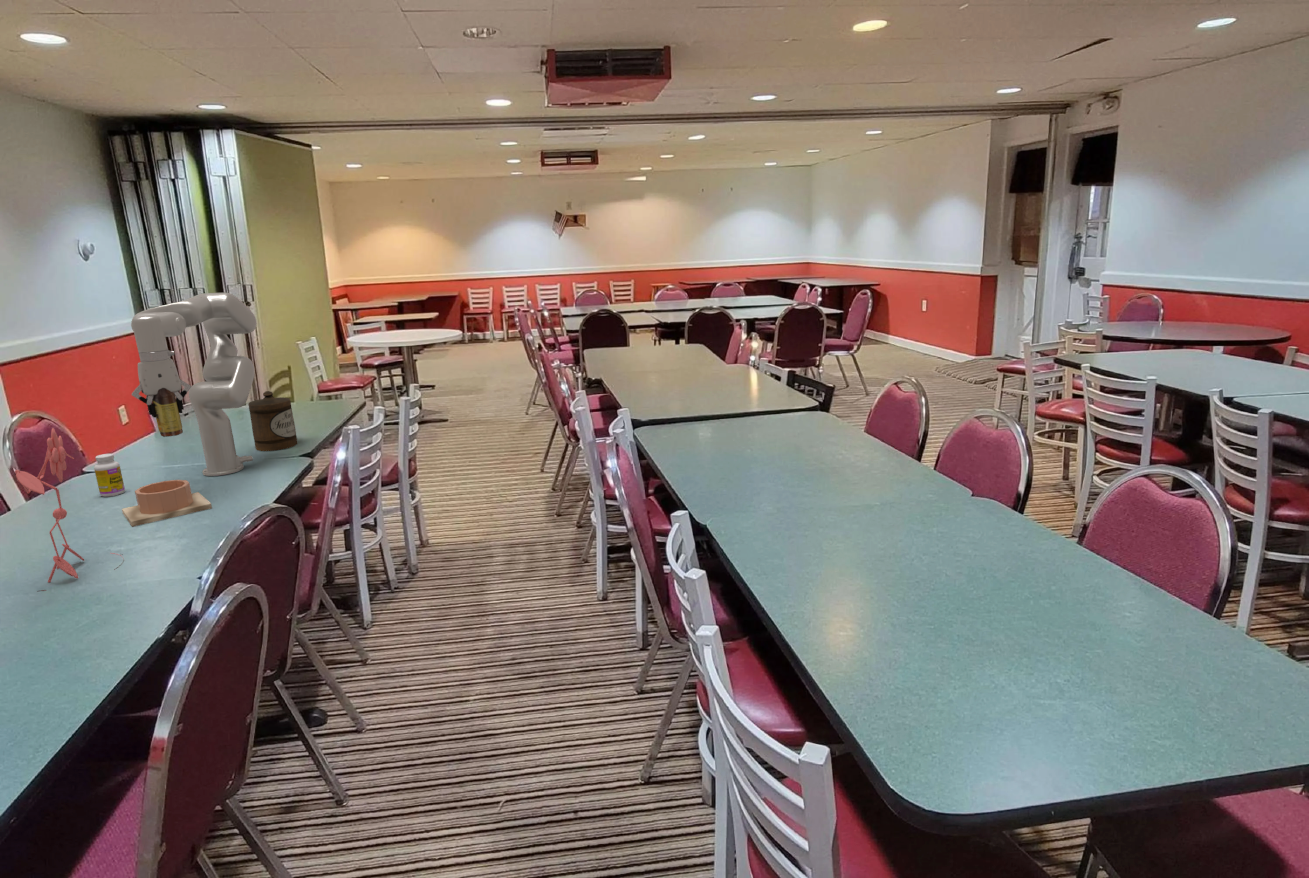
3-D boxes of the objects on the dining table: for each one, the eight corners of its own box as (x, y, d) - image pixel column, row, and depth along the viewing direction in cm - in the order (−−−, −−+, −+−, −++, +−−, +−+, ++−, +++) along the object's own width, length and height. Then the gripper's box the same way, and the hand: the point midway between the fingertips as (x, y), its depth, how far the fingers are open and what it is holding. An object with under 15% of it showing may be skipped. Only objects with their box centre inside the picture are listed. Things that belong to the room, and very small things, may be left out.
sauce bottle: (162, 433, 234) (148, 371, 229) (185, 431, 236) (172, 369, 231) (157, 438, 228) (143, 374, 223) (181, 436, 230) (167, 372, 225)
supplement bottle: (112, 497, 236) (103, 458, 233) (95, 497, 238) (85, 458, 234) (130, 490, 243) (122, 452, 239) (113, 490, 244) (104, 452, 241)
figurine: (34, 597, 167) (-2, 445, 158) (60, 557, 189) (29, 422, 181) (117, 582, 174) (86, 436, 165) (133, 546, 196) (106, 415, 187)
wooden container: (286, 450, 285) (276, 394, 279) (248, 452, 285) (237, 395, 280) (304, 440, 299) (295, 386, 294) (268, 442, 299) (258, 388, 294)
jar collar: (186, 495, 230) (183, 477, 229) (197, 505, 221) (193, 486, 219) (136, 506, 222) (131, 487, 220) (144, 517, 212) (139, 497, 211)
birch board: (199, 496, 234) (198, 492, 233) (212, 508, 222) (211, 503, 222) (122, 513, 221) (121, 508, 220) (132, 526, 209) (130, 521, 209)
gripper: (184, 351, 234) (196, 407, 239) (118, 359, 223) (131, 418, 228) (190, 354, 229) (201, 411, 233) (122, 362, 217) (136, 422, 222)
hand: (167, 414), depth 231 cm, fingers closed on sauce bottle, 6 cm apart
